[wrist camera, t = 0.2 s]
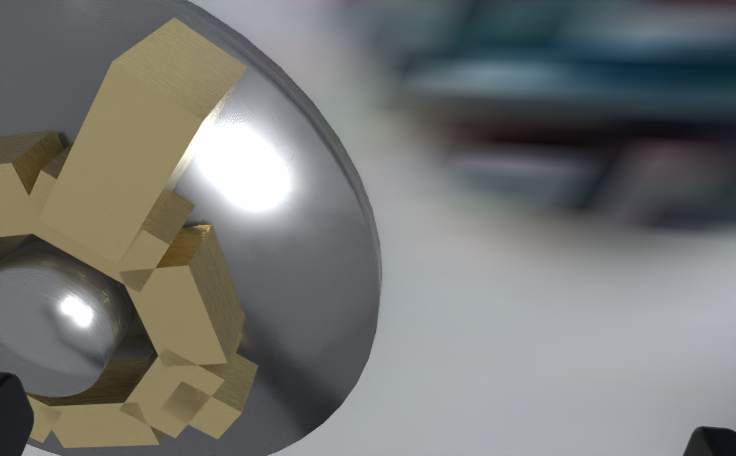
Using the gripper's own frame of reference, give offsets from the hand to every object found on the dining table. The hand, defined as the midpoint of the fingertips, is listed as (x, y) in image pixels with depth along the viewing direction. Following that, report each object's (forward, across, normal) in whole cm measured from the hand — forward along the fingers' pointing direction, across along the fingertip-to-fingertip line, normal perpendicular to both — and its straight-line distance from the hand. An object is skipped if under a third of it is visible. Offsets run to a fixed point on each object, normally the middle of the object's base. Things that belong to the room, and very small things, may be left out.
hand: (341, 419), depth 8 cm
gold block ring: (+12, +11, +6) cm, 17 cm away
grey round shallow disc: (+14, +12, +8) cm, 20 cm away
